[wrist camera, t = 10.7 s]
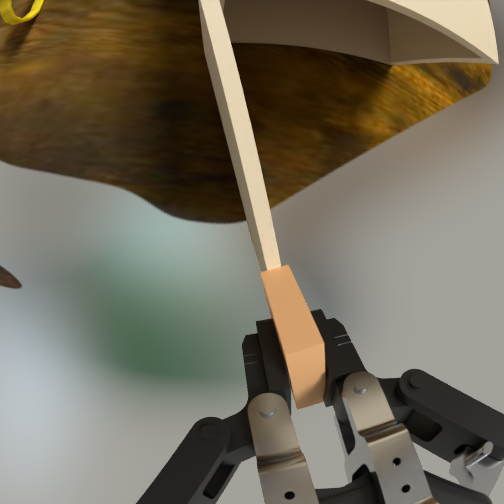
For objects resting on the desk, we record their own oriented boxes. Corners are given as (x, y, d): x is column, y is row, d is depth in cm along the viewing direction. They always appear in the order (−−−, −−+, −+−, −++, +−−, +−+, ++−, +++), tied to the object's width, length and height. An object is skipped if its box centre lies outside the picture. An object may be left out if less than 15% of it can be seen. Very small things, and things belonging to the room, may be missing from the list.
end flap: (216, 50, 16) (234, -88, 2) (261, 236, 24) (325, 405, 10) (200, 53, 16) (176, -79, 2) (248, 239, 24) (298, 413, 10)
